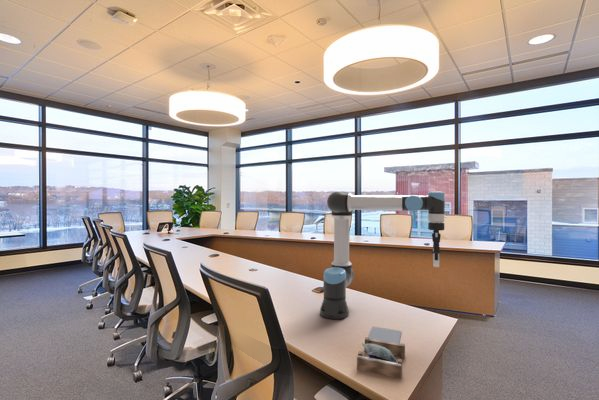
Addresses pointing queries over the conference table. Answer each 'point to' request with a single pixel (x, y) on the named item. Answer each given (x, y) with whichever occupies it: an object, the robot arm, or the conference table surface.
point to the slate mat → (385, 335)
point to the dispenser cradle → (381, 365)
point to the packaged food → (379, 352)
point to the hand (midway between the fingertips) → (435, 264)
